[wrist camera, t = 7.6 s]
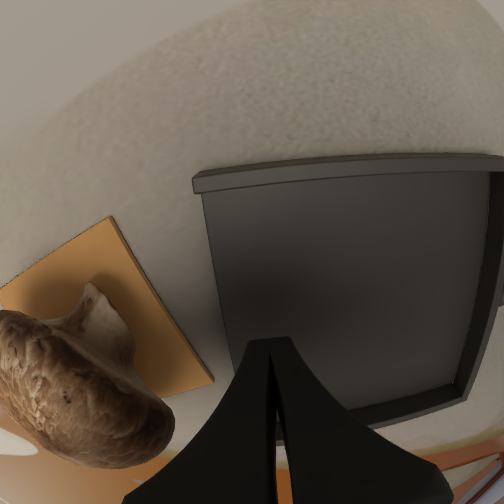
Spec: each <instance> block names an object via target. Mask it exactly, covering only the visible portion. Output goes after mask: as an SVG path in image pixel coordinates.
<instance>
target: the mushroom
mask: <svg viewBox="0 0 504 504" xmlns="http://www.w3.org/2000/svg"><path fill="white" fill-rule="evenodd" d="M135 351H136V344H135V340H134V338H133V336H132V333H131V331H130V329H129V326H128V325H127V324H126V322H125V321H124V319H123V318H122V317H121V315H120V314H119V312H118V311H117V310H116V308H115V307H114V306H113V304H112V303H111V302H110V300H109V299H108V298H107V296H106V295H105V294H104V293H103V292H102V291H101V290H100V289H99V288H98V287H97V286H96V285H95V284H93V283H92V282H91V281H88V282H86V283H85V286H84V289H83V292H82V294H81V297H80V299H79V301H78V302H77V304H76V306H75V308H74V309H72V310H71V311H70V312H69V313H68V314H67V315H66V316H63V317H60V318H57V319H49V320H37V319H35V318H33V317H31V316H28V315H26V314H24V313H21V312H19V311H12V310H1V311H0V405H1V407H2V408H3V409H4V411H5V412H6V413H7V415H8V416H10V417H11V418H12V419H13V420H14V421H15V422H16V423H17V424H18V425H20V427H21V428H23V429H24V430H25V431H26V432H27V433H28V434H29V435H30V436H31V437H32V438H33V439H34V440H35V441H36V442H38V444H40V445H41V446H42V447H43V448H44V449H46V450H47V451H49V452H51V453H53V454H55V455H57V456H59V457H61V458H63V459H65V460H67V461H69V462H71V463H73V464H76V465H80V466H86V467H92V468H103V469H124V468H128V467H131V466H136V465H139V464H142V463H146V462H148V461H149V460H151V459H153V458H154V457H156V456H158V455H159V454H160V453H161V452H162V451H163V450H164V449H165V448H166V446H167V445H168V443H169V442H170V441H171V439H172V435H173V432H174V429H175V418H174V415H173V413H172V410H171V408H169V407H168V406H167V405H166V404H165V403H164V402H163V401H162V400H161V399H160V398H159V397H157V396H156V395H155V394H154V393H152V392H151V391H150V390H149V389H148V388H147V387H146V386H145V385H144V383H143V382H142V381H141V379H140V378H139V376H138V375H137V373H136V370H135V368H134V366H133V356H134V353H135Z"/></svg>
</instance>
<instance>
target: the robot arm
mask: <svg viewBox="0 0 504 504" xmlns="http://www.w3.org/2000/svg"><path fill="white" fill-rule="evenodd" d="M277 412H278V417H279V422H280V427H281V431H282V436H283V441H284V446H285V450H286V455H287V460H288V465H289V471H290V479H291V488H292V498H293V504H451V503H452V502H453V500H454V495H453V492H452V490H451V488H450V486H449V483H448V482H447V480H446V479H445V477H444V475H443V474H442V472H441V471H440V470H439V468H438V467H437V465H436V464H433V463H431V462H429V461H426V460H424V459H422V458H420V457H417V456H415V455H413V454H411V453H409V452H407V451H405V450H404V449H402V448H400V447H398V446H397V445H395V444H393V443H391V442H390V441H388V440H387V439H385V438H384V437H382V436H381V435H379V434H378V433H376V432H375V431H373V430H372V429H371V428H369V427H368V426H366V425H365V424H364V423H362V422H361V421H360V420H359V419H357V418H356V417H355V416H354V415H352V414H351V413H350V412H349V411H348V410H347V409H346V408H345V407H343V406H342V405H341V404H340V403H339V402H338V401H337V400H336V399H335V398H334V397H333V396H332V395H331V394H330V393H329V391H328V390H327V389H326V388H325V387H324V386H323V385H322V384H321V382H320V381H319V380H318V379H317V378H316V376H315V375H314V374H313V372H312V371H311V370H310V368H309V367H308V366H307V364H306V363H305V362H304V360H303V359H302V357H301V356H300V354H299V352H298V351H297V349H296V347H295V345H294V343H293V341H292V339H291V338H290V337H289V336H282V337H274V338H265V339H256V340H250V341H249V342H248V343H247V345H246V349H245V352H244V355H243V357H242V360H241V362H240V365H239V367H238V369H237V371H236V373H235V376H234V378H233V380H232V382H231V384H230V386H229V387H228V389H227V391H226V393H225V394H224V396H223V398H222V399H221V401H220V403H219V404H218V406H217V408H216V409H215V411H214V412H213V413H212V415H211V416H210V418H209V419H208V420H207V422H206V423H205V424H204V426H203V427H202V428H201V429H200V431H199V432H198V433H197V434H196V435H195V436H194V438H193V439H192V440H191V441H190V442H189V443H188V444H187V446H186V447H185V448H184V449H183V450H182V451H181V452H180V453H179V454H178V455H177V456H175V457H174V458H173V459H172V460H171V461H170V462H169V463H168V464H167V465H166V466H165V467H163V468H162V469H161V470H160V471H159V472H158V473H156V474H155V475H154V476H153V477H151V478H150V479H149V480H147V481H146V482H144V483H143V484H142V485H140V486H139V487H138V488H136V489H135V490H133V491H132V492H130V493H129V494H127V495H126V496H125V497H124V499H123V501H122V504H278V495H277V482H276V430H277Z"/></svg>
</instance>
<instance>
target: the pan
mask: <svg viewBox="0 0 504 504" xmlns="http://www.w3.org/2000/svg"><path fill="white" fill-rule="evenodd" d="M489 172H490V197H489ZM192 185H193V191H194V194H201V197H202V203H203V209H204V215H205V221H206V227H207V233H208V239H209V245H210V250H211V256H212V262H213V267H214V273H215V278H216V283H217V289H218V294H219V299H220V305H221V310H222V315H223V320H224V325H225V330H226V335H227V340H228V345H229V349H230V354H231V359H232V364H233V368H234V373H236V371H237V369H238V367H239V365H240V362H241V360H242V357H243V355H244V352H245V349H246V345H247V343H248V342H249V341H250V340H256V339H265V338H274V337H282V336H289V337H290V338H291V339H292V341H293V343H294V345H295V347H296V349H297V351H298V352H299V354H300V356H301V357H302V359H303V360H304V362H305V363H306V364H307V366H308V367H309V368H310V370H311V371H312V372H313V374H314V375H315V376H316V378H317V379H318V380H319V381H320V382H321V384H322V385H323V386H324V387H325V388H326V389H327V390H328V391H329V393H330V394H331V395H332V396H333V397H334V398H335V399H336V400H337V401H338V402H339V403H340V404H341V405H342V406H343V407H345V408H346V409H347V410H348V411H349V412H350V413H351V414H352V415H354V416H355V417H356V418H357V419H359V420H360V421H361V422H362V423H364V424H365V425H366V426H368V427H369V428H371V429H372V430H374V429H378V428H382V427H386V426H390V425H393V424H397V423H401V422H404V421H408V420H411V419H414V418H417V417H421V416H424V415H427V414H430V413H433V412H436V411H439V410H442V409H444V408H447V407H450V406H453V405H455V404H458V403H459V402H460V403H461V402H463V401H466V400H467V398H468V396H469V393H470V391H471V388H472V386H473V383H474V381H475V378H476V376H477V373H478V370H479V368H480V365H481V362H482V359H483V356H484V353H485V350H486V347H487V344H488V341H489V338H490V334H491V331H492V328H493V324H494V320H495V317H496V313H497V309H498V307H499V306H502V305H504V157H503V156H498V155H487V154H472V153H391V154H366V155H347V156H332V157H318V158H306V159H295V160H285V161H275V162H266V163H257V164H249V165H241V166H233V167H226V168H219V169H212V170H205V171H200V172H199V173H198V174H196V175H195V176H194V177H192ZM488 197H489V213H488ZM487 213H488V225H487ZM486 225H487V235H486ZM485 235H486V244H485ZM484 244H485V252H484ZM483 252H484V259H483ZM482 259H483V265H482ZM481 266H482V272H481ZM480 272H481V277H480ZM479 278H480V283H479ZM478 284H479V288H478ZM477 289H478V293H477ZM476 294H477V298H476ZM475 299H476V303H475ZM474 304H475V308H474ZM473 308H474V312H473ZM472 313H473V316H472ZM471 317H472V321H471ZM470 321H471V325H470ZM469 325H470V328H469ZM468 329H469V332H468ZM467 333H468V336H467ZM466 337H467V340H466ZM465 340H466V343H465ZM464 344H465V347H464ZM463 347H464V350H463ZM462 351H463V354H462ZM461 354H462V357H461ZM460 358H461V360H460ZM459 361H460V363H459ZM458 364H459V366H458ZM457 367H458V370H457ZM456 370H457V373H456ZM455 373H456V376H455ZM454 376H455V378H454ZM453 379H454V381H453ZM452 382H453V384H452ZM276 446H284V441H283V436H282V431H281V427H280V422H279V417H278V412H277V430H276Z"/></svg>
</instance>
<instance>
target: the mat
mask: <svg viewBox="0 0 504 504" xmlns="http://www.w3.org/2000/svg"><path fill="white" fill-rule="evenodd" d="M88 281H91V282H92V283H93V284H95V285H96V286H97V287H98V288H99V289H100V290H101V291H102V292H103V293H104V294H105V295H106V296H107V298H108V299H109V300H110V302H111V303H112V304H113V306H114V307H115V308H116V310H117V311H118V312H119V314H120V315H121V317H122V318H123V319H124V321H125V322H126V324H127V325H128V326H129V329H130V331H131V333H132V336H133V338H134V340H135V344H136V351H135V353H134V356H133V366H134V368H135V370H136V373H137V375H138V376H139V378H140V379H141V381H142V382H143V383H144V385H145V386H146V387H147V388H148V389H149V390H150V391H151V392H152V393H154V394H155V395H156V396H157V397H159V398H164V397H168V396H172V395H175V394H179V393H183V392H186V391H190V390H193V389H197V388H200V387H204V386H207V385H210V384H214V378H213V377H212V375H211V374H210V373H209V371H208V370H207V368H206V367H205V366H204V364H203V363H202V361H201V360H200V359H199V357H198V356H197V354H196V353H195V351H194V350H193V349H192V347H191V346H190V344H189V343H188V341H187V340H186V338H185V337H184V335H183V334H182V332H181V331H180V329H179V328H178V327H177V325H176V323H175V322H174V320H173V319H172V317H171V316H170V314H169V313H168V311H167V310H166V308H165V307H164V305H163V303H162V302H161V300H160V299H159V297H158V296H157V294H156V292H155V291H154V289H153V288H152V286H151V284H150V283H149V281H148V279H147V278H146V276H145V274H144V273H143V271H142V269H141V268H140V266H139V264H138V263H137V261H136V259H135V258H134V256H133V254H132V252H131V251H130V249H129V247H128V245H127V244H126V242H125V240H124V238H123V236H122V235H121V233H120V231H119V229H118V227H117V226H116V224H115V222H114V220H113V218H112V216H109V217H108V218H106V219H104V220H103V221H101V222H99V223H98V224H96V225H95V226H93V227H91V228H90V229H88V230H86V231H85V232H83V233H82V234H80V235H78V236H77V237H75V238H74V239H72V240H71V241H69V242H67V243H66V244H64V245H63V246H61V247H60V248H58V249H57V250H55V251H54V252H52V253H51V254H49V255H48V256H46V257H45V258H43V259H42V260H40V261H39V262H37V263H36V264H35V265H33V266H32V267H30V268H29V269H27V270H26V271H25V272H23V273H22V274H20V275H19V276H18V277H16V278H15V279H13V280H12V281H11V282H9V283H8V284H7V285H5V286H4V287H3V288H1V289H0V303H1V304H2V306H3V308H4V309H5V310H12V311H19V312H21V313H24V314H26V315H28V316H31V317H33V318H35V319H37V320H49V319H57V318H60V317H63V316H66V315H67V314H68V313H69V312H70V311H71V310H72V309H74V308H75V306H76V304H77V302H78V301H79V299H80V297H81V294H82V292H83V289H84V286H85V283H86V282H88Z"/></svg>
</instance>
